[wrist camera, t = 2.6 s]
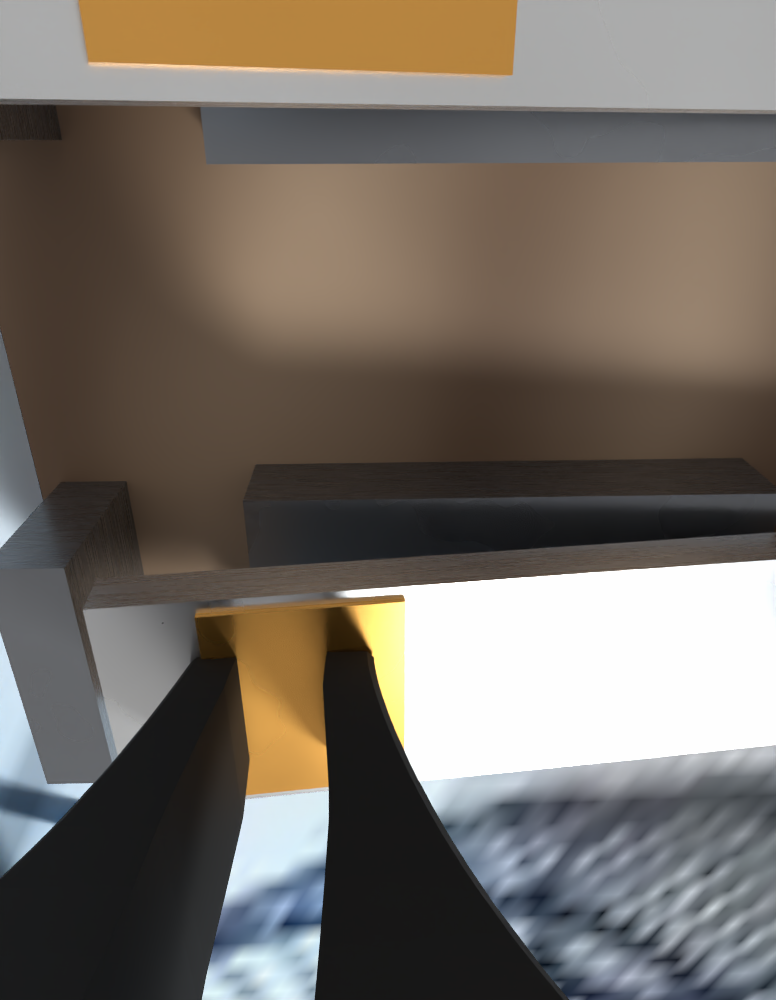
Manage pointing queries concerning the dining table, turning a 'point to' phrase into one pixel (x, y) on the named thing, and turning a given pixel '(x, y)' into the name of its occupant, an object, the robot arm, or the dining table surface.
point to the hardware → (369, 486)
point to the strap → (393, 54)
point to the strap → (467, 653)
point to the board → (369, 316)
